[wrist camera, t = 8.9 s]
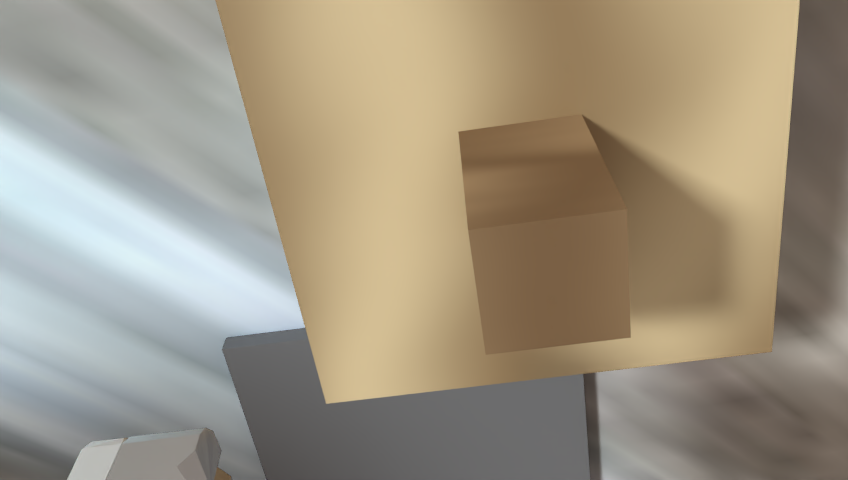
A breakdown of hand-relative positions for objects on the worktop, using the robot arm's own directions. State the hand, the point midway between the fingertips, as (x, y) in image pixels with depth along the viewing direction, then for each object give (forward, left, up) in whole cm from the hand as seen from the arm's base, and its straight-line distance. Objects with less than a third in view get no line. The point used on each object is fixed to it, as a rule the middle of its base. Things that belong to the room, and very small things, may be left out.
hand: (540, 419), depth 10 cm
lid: (+1, 0, -8) cm, 8 cm away
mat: (-3, -13, -13) cm, 18 cm away
